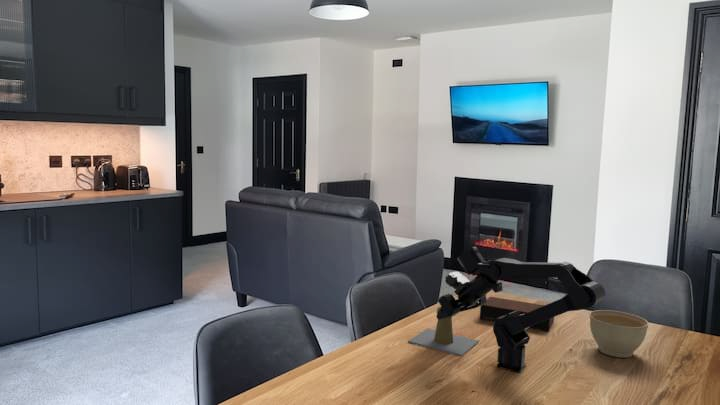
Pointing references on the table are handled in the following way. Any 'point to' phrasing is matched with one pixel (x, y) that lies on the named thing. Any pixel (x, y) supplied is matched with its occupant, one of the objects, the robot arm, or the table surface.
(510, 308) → the dark brown rectangular block
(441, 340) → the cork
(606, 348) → the planter bowl
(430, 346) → the mat
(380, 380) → the table surface
